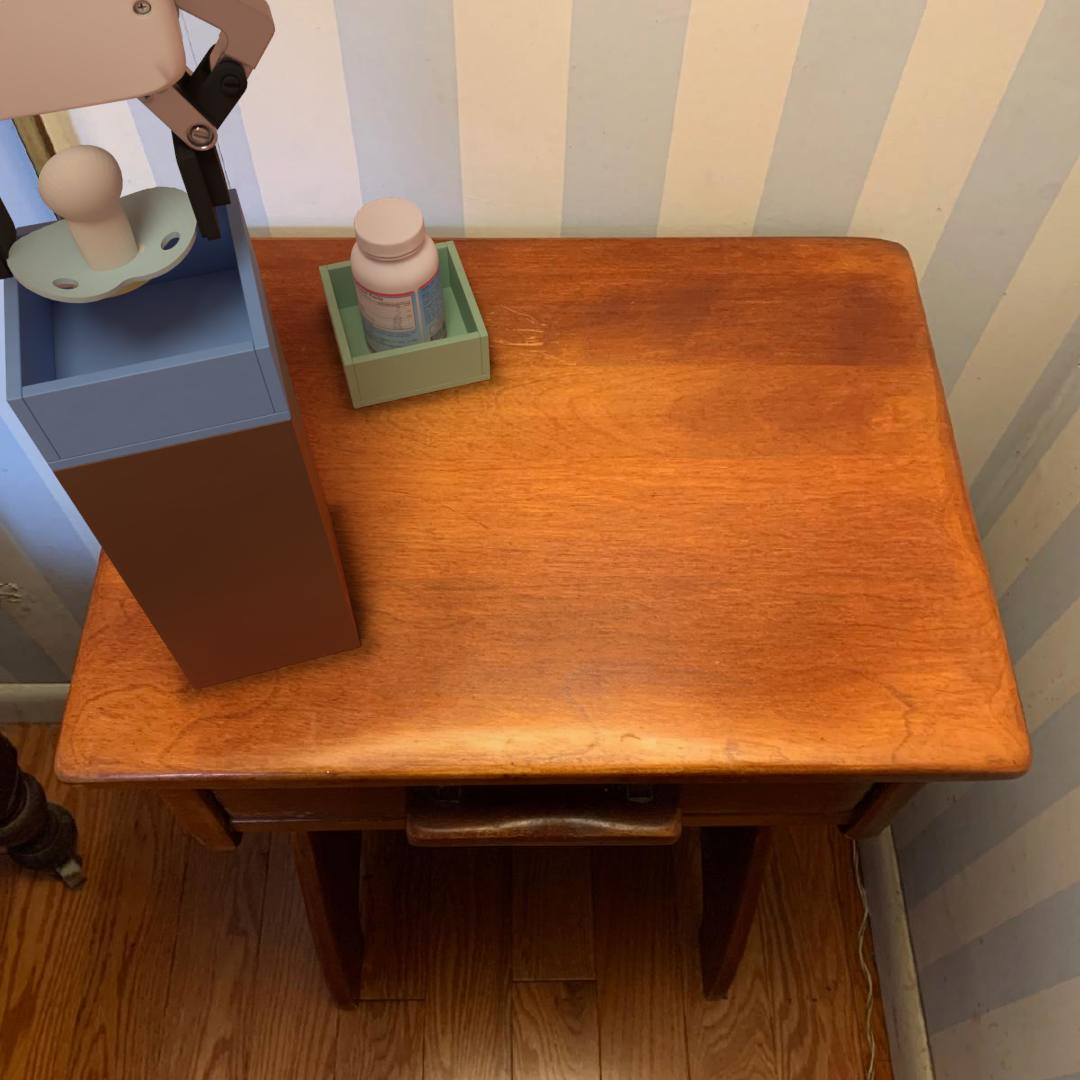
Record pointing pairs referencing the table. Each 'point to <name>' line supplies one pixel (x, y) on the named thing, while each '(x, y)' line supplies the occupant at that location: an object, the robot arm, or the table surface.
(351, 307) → the green bin
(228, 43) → the robot arm
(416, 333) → the pill bottle
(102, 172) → the pacifier
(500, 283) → the table surface
